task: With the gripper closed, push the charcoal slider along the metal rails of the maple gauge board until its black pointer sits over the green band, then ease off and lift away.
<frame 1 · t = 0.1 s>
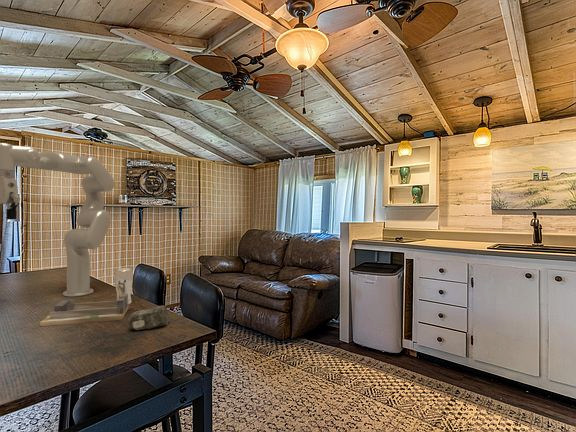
hand: (2, 219, 128), 37 cm above the table, tool pointing down, fingers open, 9 cm apart
gauge board: (88, 316, 127), on the table
slider: (62, 308, 123), point 4 cm above the table, slide at 0.0 cm
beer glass: (123, 303, 144), on the table
stone: (150, 327, 116), on the table
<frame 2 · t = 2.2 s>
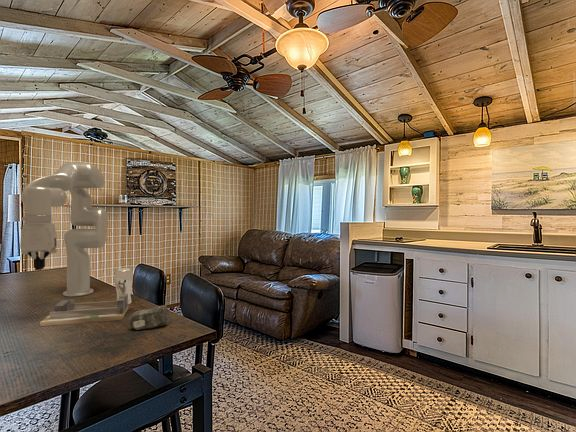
hand: (39, 269, 122), 19 cm above the table, tool pointing down, fingers closed
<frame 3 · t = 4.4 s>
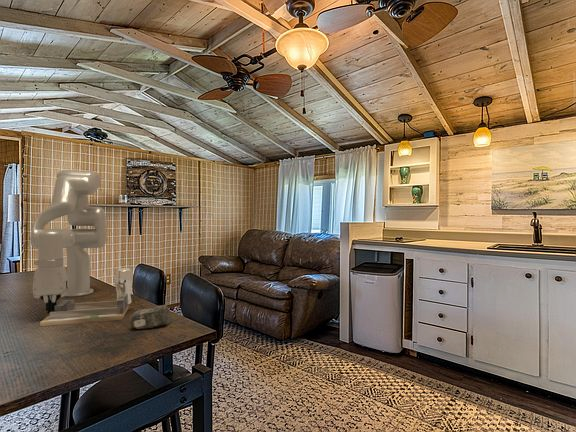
hand: (51, 312, 123), 3 cm above the table, tool pointing down, fingers closed
slider: (62, 308, 123), point 4 cm above the table, slide at 0.0 cm, touching gripper
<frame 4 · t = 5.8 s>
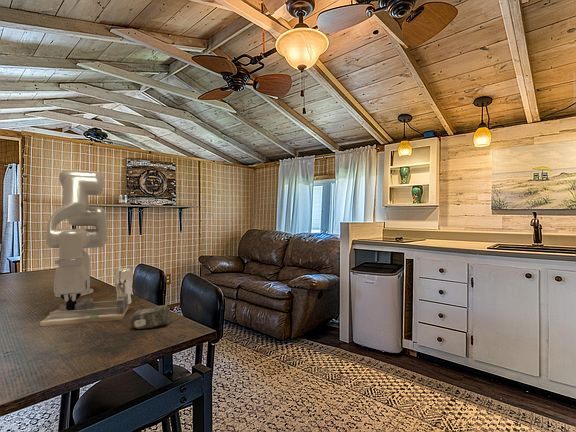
hand: (71, 310, 125), 3 cm above the table, tool pointing down, fingers closed
slider: (82, 307, 125), point 4 cm above the table, slide at 6.6 cm, touching gripper
everything else where it was.
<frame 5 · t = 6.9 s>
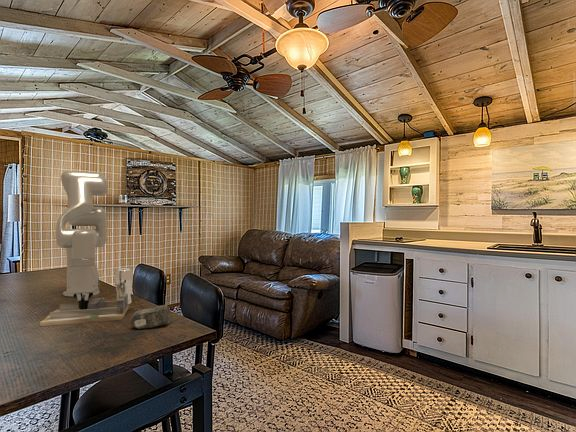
hand: (83, 309, 126), 3 cm above the table, tool pointing down, fingers closed
slider: (95, 306, 126), point 4 cm above the table, slide at 10.8 cm, touching gripper
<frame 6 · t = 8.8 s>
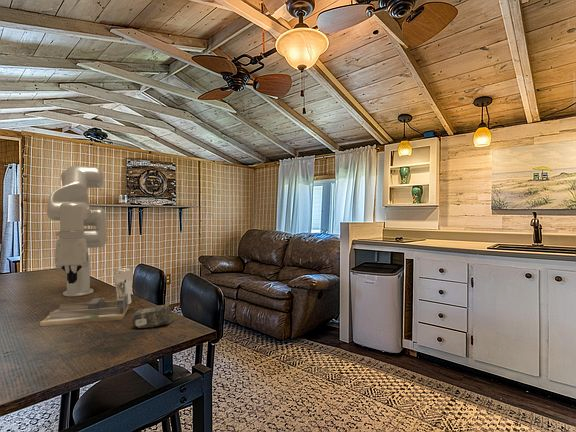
hand: (72, 282, 126), 13 cm above the table, tool pointing down, fingers closed
slider: (95, 306, 126), point 4 cm above the table, slide at 10.8 cm
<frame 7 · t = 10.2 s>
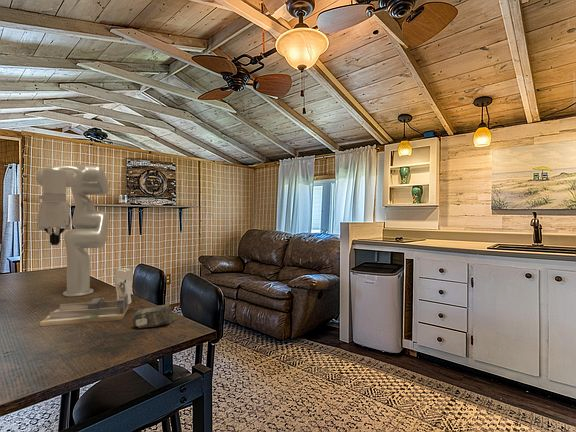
hand: (54, 244, 131), 27 cm above the table, tool pointing down, fingers closed
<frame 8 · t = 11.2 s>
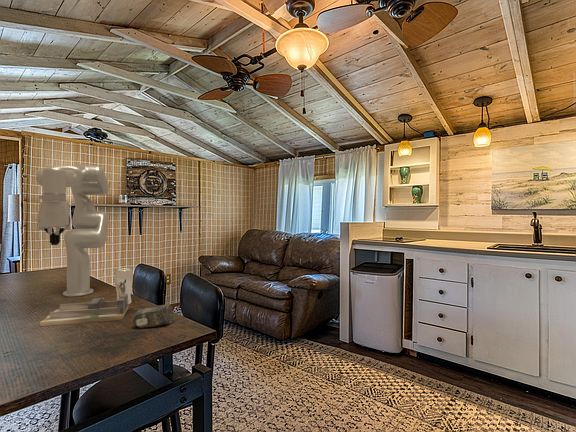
hand: (54, 244, 131), 27 cm above the table, tool pointing down, fingers closed
at the end: slider slide at 10.8 cm; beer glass moved 0.2 cm from its start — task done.
